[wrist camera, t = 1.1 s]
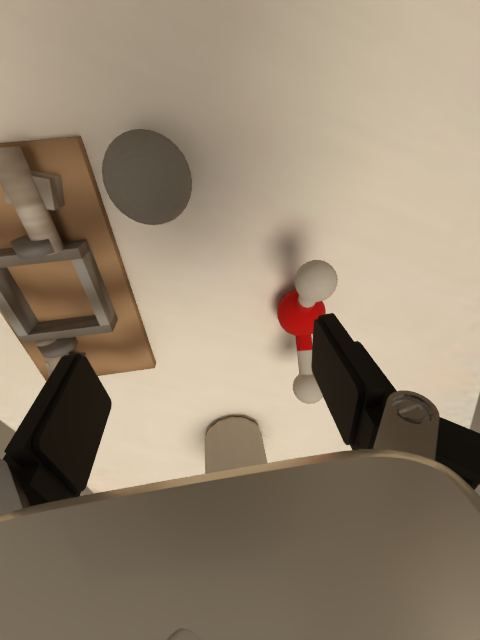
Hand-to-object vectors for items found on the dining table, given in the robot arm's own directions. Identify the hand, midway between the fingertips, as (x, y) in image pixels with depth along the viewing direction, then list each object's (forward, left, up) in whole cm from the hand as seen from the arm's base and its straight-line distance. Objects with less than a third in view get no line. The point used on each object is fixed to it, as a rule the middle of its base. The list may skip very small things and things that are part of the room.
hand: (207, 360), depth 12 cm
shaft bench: (+5, -16, -21) cm, 27 cm away
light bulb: (-5, -3, -21) cm, 22 cm away
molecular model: (+11, +10, -21) cm, 26 cm away
